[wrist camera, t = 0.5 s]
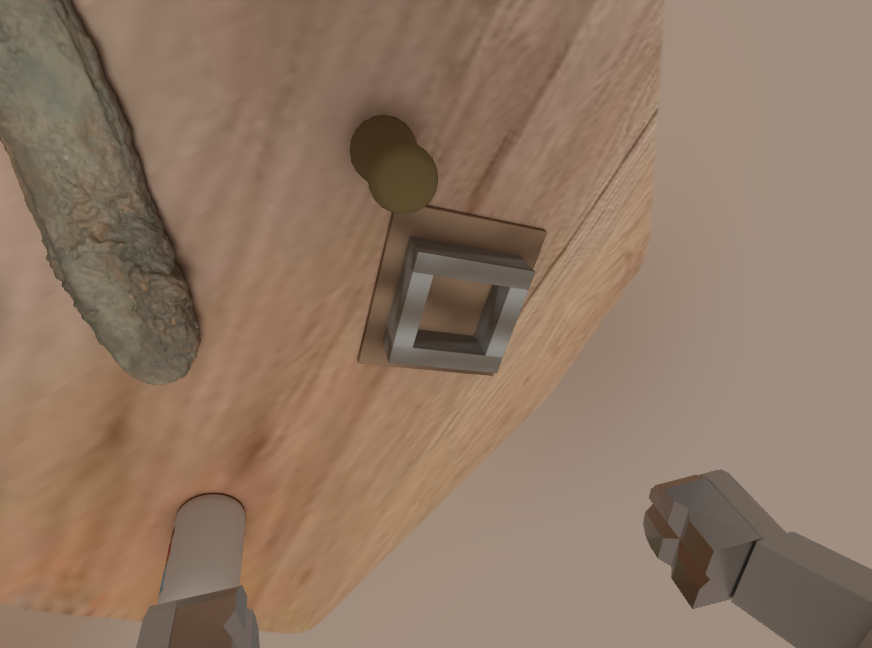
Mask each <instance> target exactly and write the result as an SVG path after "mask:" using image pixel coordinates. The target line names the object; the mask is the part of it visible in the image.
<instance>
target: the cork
mask: <svg viewBox="0 0 872 648" xmlns="http://www.w3.org/2000/svg"><path fill="white" fill-rule="evenodd" d="M350 156H351V161H352V164H353V165H354V167H355V169H356V171H357V172H358V173H359V174H360V175H361V176H362V177H363V178H364V179H365V180H366V181H367V182H368V184H369V189H370V191H371V193H372V195H373V197H374V199H375V201H376V202H377V203H378V204H379V205H380V206H381V207H382V208H384V209H386V210H388V211H390V212H392V213H397V214H410V213H415V212H417V211H419V210H421V209H422V208H424V207H425V206H426V205H427V204H428V203H429V202H430V201H431V199H432V198H433V196H434V194H435V192H436V188H437V184H438V175H437V168H436V165H435V163H434V160H433V158H432V157H431V156H430V155H429V154H428V153H427V152H426V150H424V149H423V148H421V147H420V146H418V145H417V142H416V140H415V137H414V135H413V133H412V131H411V130H410V128H409V127H408V126H407V125H406V124H405V123H404V122H402V121H401V120H399V119H397V118H396V117H391V116H386V115H382V116H374V117H372V118H370V119H368V120H366V121H364V122H363V123H362V124H361V125H360V126H359V127H358V128H357V129H356V131H355V133H354V135H353V137H352V139H351V145H350Z"/></svg>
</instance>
